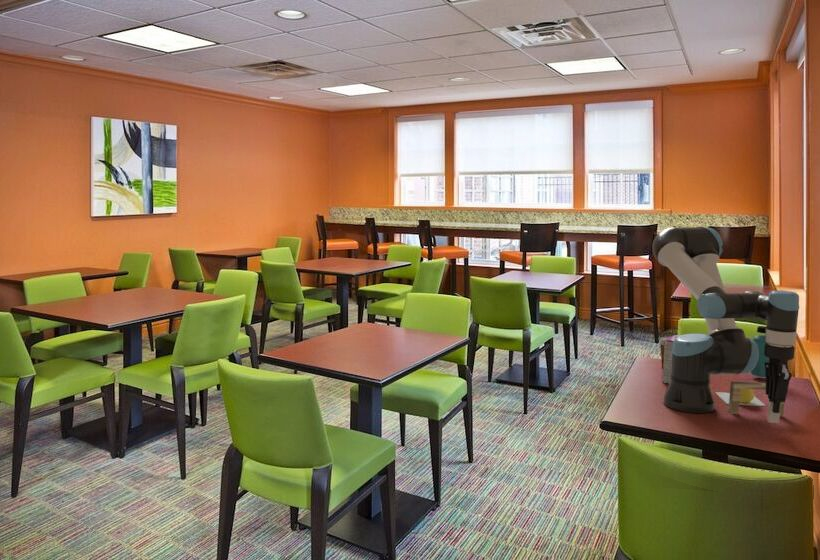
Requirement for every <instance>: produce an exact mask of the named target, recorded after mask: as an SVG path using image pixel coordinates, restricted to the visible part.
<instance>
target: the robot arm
mask: <svg viewBox="0 0 820 560" xmlns="http://www.w3.org/2000/svg"><path fill="white" fill-rule="evenodd" d="M722 253H723V238H722V237H721V235H720V233H719V232H718V231H716V230H715V229H714V228H711V227H705V226H697V227H693V226H692V227H690V226H689V227H688V226H687V227H684V226H683V227H677V226H676V227H674V226H672V227H667V228H664V229H662V230H661V231H660V232H658V234H656V236H655V238H654V239H653V242H652V254H653V256H654V258H655V260H656V261H657V262H658V264H660V265H661V266H663V267H667V268H668V270H670V271H671V273H672V274H673V275H674V276H675V277H676V278H677V279H678V280H679V281H680V283H682V284H683V286H684V287H685V288H686V289H687V290H688V291H689V292H690V293H691V295H693V297H694V299H696V300H697V301H696V309H697V310H698V314H699V315H700V316H701V317H702V318H704V320H705V323H706V327H707V331H708V333H707V334H705V333H686V334H685V333H684V334H681V335H680V336H678V337H677V338H676V339H675V340H674V343H673V349H672V368H671V381H670V383H669V384H668V386H667V388H666V390H665V393H664V395H663V404H664V405H665V406H666V407H668V408H670V409H672V410H675V411H680V412H683V413H684V412H685V413H690V414H708V413H711V412H713V411H714V410H715V400H714V396H713V392H712V389H711V387H710V386H711V385H710V384H711V376H712V375H740V374H748V373H751V371H752V370H753V369H754V368H755V366H756V365H757V361H758V358H759V350H758V346H757V344H756V342H755V341H754V340H753V338H751V337H748V336H747V337H746V334H745V331H744V329H743V328H742V327H739V326H738V325H737V323H736V320H735V319H753V318H755V319H756V318H757V319H759V320H764V321H766V325H765V327H766V333H764V335H765V341H766V342H767V343H766V344H765V349H764V355H765V356H766V357H768V358H769V362H765V363H764V364H765V376H766V377H765V383H766V390H765V395H766V396H767V398H768V403H767V404H768V405H767V406H768V407H767V416H766V417H767V418H766V421H767V422H768V423H770V424H772V423H773V424H774V423H775V424H779V423H780V418H781V417H780V407H781V402H785V403H786V398H787V394H788V389H789V385H790V382H791V379H792V376H793V374H792V373H791V372H788V370H789V365H788V362H789V361H792V360H793V359H795V350H796V347H795V346H794V345H796V340H797V337H798V333H797V329H798V328H797V327H798V320H799V310H800V295H799V294H798V293H797V292H795V291H792V290H790V291H789V290H775V289H774V290H771V291H769V293H768V294H767V293H762V292H760V291H754V290H747V291H744V292H738V293H737V292H733V293H732V292H731V293H729V292H726V289H725V287H724V283H723V280H722V277H721V274H720V270H719V267H718V265H717V264H718V262H719V260H720V257H721V255H722Z"/></svg>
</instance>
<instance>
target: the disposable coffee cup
mask: <svg viewBox="0 0 820 560" xmlns="http://www.w3.org/2000/svg"><path fill="white" fill-rule="evenodd" d="M670 337H671V336H662V337H661V338H660V339H659V345H660V359H661V361H660V362H661V369H663V361H664V340H666V339H668V338H670Z"/></svg>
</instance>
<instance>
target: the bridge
mask: <svg viewBox="0 0 820 560" xmlns="http://www.w3.org/2000/svg"><path fill="white" fill-rule="evenodd" d="M741 388H745V389H753V390H765V391H766V382H749V381H748V382H747V381H731V380H730V387H729V393H730V398H729V404H728V412H729V413H730V414H732V415H739V414H740V413H739V411H740V405H739V402H740V390H741ZM785 403H786V401H785V402H781V407H780V418H783V417H784V411H785Z"/></svg>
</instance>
